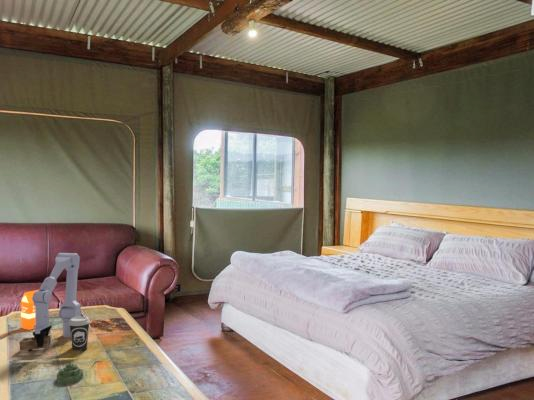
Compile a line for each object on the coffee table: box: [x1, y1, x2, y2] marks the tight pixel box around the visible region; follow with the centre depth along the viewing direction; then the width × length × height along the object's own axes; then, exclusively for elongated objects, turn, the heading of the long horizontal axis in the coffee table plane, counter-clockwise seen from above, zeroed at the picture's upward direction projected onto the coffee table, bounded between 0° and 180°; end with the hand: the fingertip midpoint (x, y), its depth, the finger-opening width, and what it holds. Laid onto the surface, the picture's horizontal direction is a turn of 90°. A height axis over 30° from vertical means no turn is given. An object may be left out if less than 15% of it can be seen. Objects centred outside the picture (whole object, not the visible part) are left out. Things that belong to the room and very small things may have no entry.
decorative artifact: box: [56, 361, 84, 385], centre depth 193 cm, size 10×7×10 cm
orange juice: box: [20, 289, 38, 330], centre depth 261 cm, size 8×9×20 cm
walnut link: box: [19, 335, 52, 351], centre depth 222 cm, size 12×6×4 cm, turn 99°
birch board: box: [16, 339, 59, 357], centre depth 226 cm, size 13×20×1 cm, turn 9°
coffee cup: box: [69, 315, 91, 353], centre depth 226 cm, size 10×10×15 cm
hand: (42, 344), depth 223 cm, fingers closed on walnut link, 5 cm apart
